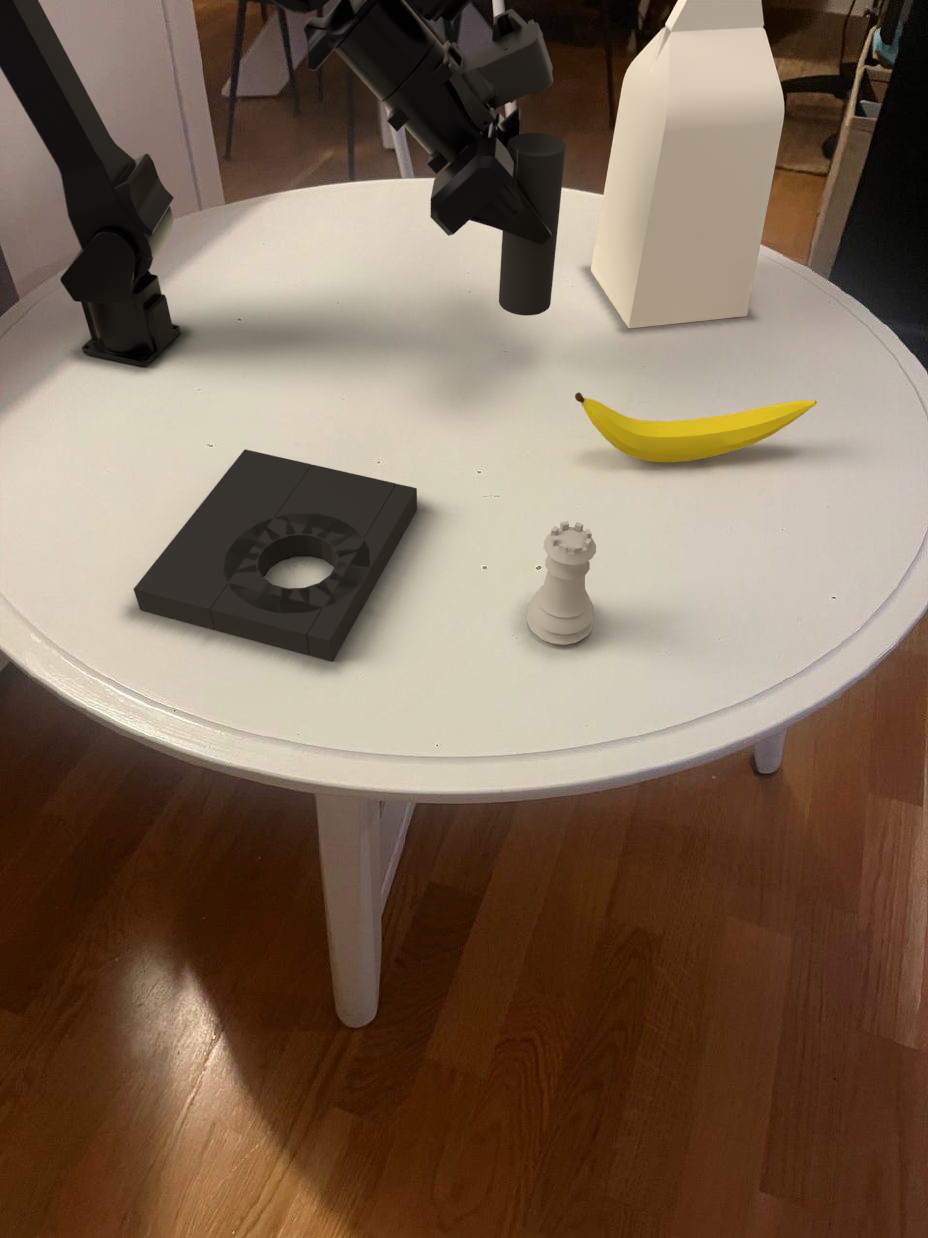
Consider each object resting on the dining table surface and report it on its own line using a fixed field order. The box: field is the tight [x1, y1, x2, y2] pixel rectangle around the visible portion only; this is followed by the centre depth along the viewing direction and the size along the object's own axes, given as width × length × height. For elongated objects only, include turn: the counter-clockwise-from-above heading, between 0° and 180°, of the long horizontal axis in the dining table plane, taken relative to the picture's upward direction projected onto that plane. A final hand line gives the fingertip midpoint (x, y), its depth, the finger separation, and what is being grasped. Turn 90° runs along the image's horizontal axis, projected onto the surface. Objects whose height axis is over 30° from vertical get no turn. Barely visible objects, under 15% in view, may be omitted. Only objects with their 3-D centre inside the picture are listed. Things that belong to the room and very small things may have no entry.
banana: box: [574, 391, 817, 463], centre depth 76 cm, size 3×19×6 cm, turn 95°
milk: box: [590, 0, 785, 329], centre depth 87 cm, size 12×12×26 cm
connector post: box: [498, 132, 567, 316], centre depth 78 cm, size 4×4×13 cm
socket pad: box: [133, 449, 418, 662], centre depth 68 cm, size 14×16×2 cm
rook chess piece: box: [526, 520, 597, 646], centre depth 62 cm, size 4×4×8 cm
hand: (547, 226), depth 78 cm, fingers closed on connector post, 4 cm apart
